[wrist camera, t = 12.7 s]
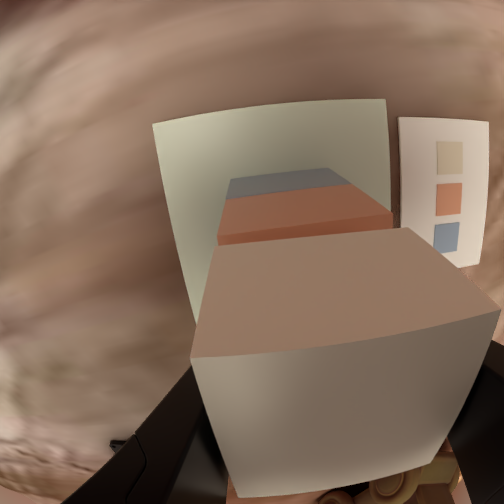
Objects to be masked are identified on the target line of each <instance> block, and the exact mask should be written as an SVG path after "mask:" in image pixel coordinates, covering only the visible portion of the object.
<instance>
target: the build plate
mask: <svg viewBox="0 0 504 504" xmlns="http://www.w3.org/2000/svg"><path fill="white" fill-rule="evenodd" d="M152 126H153V132H154V138H155V143H156V149H157V155H158V160H159V165H160V171H161V176H162V181H163V186H164V191H165V196H166V201H167V206H168V210H169V215H170V220H171V224H172V229H173V233H174V238H175V242H176V246H177V251H178V255H179V259H180V263H181V267H182V272H183V276H184V280H185V284H186V288H187V291H188V295H189V299H190V303H191V307H192V311H193V314H194V318H195V322H196V325H197V321H198V316H199V312H200V307H201V303H202V298H203V294H204V289H205V285H206V281H207V276H208V272H209V268H210V263H211V259H212V255H213V251H214V246H218V240H217V233H218V229H219V225H220V221H221V217H222V213H223V209H224V205H225V201H226V195H227V191H228V187H229V183H230V180H231V179H234V178H241V177H249V176H257V175H264V174H273V173H281V172H290V171H300V170H309V169H320V168H329V169H331V170H333V171H334V172H336V173H337V174H338V175H340V176H341V177H343V178H344V179H346V180H347V181H349V182H350V183H352V184H353V185H354V186H356V187H357V188H359V189H360V190H362V191H363V192H364V193H366V194H367V195H369V196H370V197H371V198H373V199H374V200H376V201H377V202H378V203H380V204H381V205H382V206H384V207H385V208H386V209H388V210H389V211H390V212H391V181H390V152H389V134H388V121H387V109H386V99H341V100H319V101H304V102H291V103H280V104H270V105H261V106H253V107H245V108H238V109H231V110H224V111H217V112H211V113H205V114H200V115H194V116H189V117H183V118H178V119H173V120H169V121H164V122H159V123H155V124H152Z"/></svg>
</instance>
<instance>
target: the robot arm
mask: <svg viewBox="0 0 504 504" xmlns="http://www.w3.org/2000/svg"><path fill="white" fill-rule="evenodd" d="M447 437H448V440H449V442H450V445H451V447H452V450H453V452H454V455H455V458H456V460H457V463H458V466H459V468H460V471H461V474H462V476H463V479H464V482H465V485H466V488H467V491H468V494H469V497H470V500H471V503H472V504H504V346H503V345H501V344H499V343H497V342H495V341H493V340H491V342H490V345H489V347H488V350H487V352H486V355H485V358H484V360H483V362H482V365H481V367H480V370H479V372H478V374H477V377H476V379H475V381H474V383H473V386H472V388H471V390H470V392H469V394H468V396H467V398H466V401H465V403H464V405H463V407H462V409H461V411H460V412H459V414H458V416H457V418H456V420H455V422H454V424H453V426H452V427H451V429H450V431H449V433H448V435H447ZM109 446H110V447H111V448H112V450H113V451H114V452H115V453H116V454H115V455H114V456H113V457H112V458H111V459H110V460H109V461H108V462H107V463H106V464H105V465H104V466H103V467H102V468H101V469H100V470H98V471H97V472H96V473H95V474H94V475H93V476H92V477H91V478H90V479H88V480H87V481H86V482H85V483H84V484H83V485H82V486H80V487H79V488H78V489H77V490H76V491H75V492H74V493H72V494H71V495H70V496H69V497H68V498H67V499H65V500H64V501H63V502H62V503H60V504H226V495H227V486H228V476H229V473H228V470H227V467H226V465H225V462H224V459H223V457H222V454H221V451H220V449H219V446H218V443H217V440H216V438H215V435H214V432H213V429H212V426H211V423H210V420H209V418H208V415H207V412H206V409H205V406H204V403H203V400H202V396H201V393H200V390H199V387H198V384H197V381H196V377H195V374H194V371H193V368H192V365H191V366H190V367H189V369H188V370H187V371H186V372H185V373H184V375H183V376H182V377H181V378H180V379H179V381H178V382H177V383H176V384H175V385H174V387H173V388H172V389H171V390H170V391H169V393H168V394H167V395H166V396H165V397H164V399H163V400H162V401H161V402H160V403H159V404H158V406H157V407H156V408H155V409H154V410H153V412H152V413H151V414H150V415H149V416H148V417H147V419H146V420H145V421H144V422H143V423H142V424H141V426H140V427H139V428H138V429H137V430H136V431H135V435H134V434H133V435H132V436H131V437H130V438H129V439H128V440H127V442H116V441H111V442H110V445H109Z"/></svg>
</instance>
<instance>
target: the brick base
mask: <svg viewBox="0 0 504 504" xmlns="http://www.w3.org/2000/svg"><path fill="white" fill-rule="evenodd" d="M345 184H352V183H350V182H349V181H347V180H346V179H344V178H343V177H341V176H340V175H338V174H337V173H336V172H334V171H333V170H331V169H329V168H320V169H309V170H300V171H290V172H281V173H273V174H264V175H257V176H249V177H241V178H234V179H231V180H230V183H229V187H228V191H227V195H226V199H233V198H240V197H247V196H254V195H261V194H269V193H276V192H284V191H292V190H300V189H309V188H317V187H326V186H335V185H345Z"/></svg>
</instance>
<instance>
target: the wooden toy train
mask: <svg viewBox="0 0 504 504" xmlns="http://www.w3.org/2000/svg"><path fill="white" fill-rule="evenodd" d="M459 472H460V471H459V467H458V463H457V460H456V458H455V455H454V452H444V451H438V452H437V453H436V455H435V456H434V458H433V460H432V461H431V463H429V464H426V465H423V466H420V467H417V468H414V469H411V470H408V471H404V472H401V473H398V474H394V475H390V476H387V477H383V478H379V479H375V480H371V481H369V488H368V489H366V490H365V491H363V492H361V493H360V494H358V495H356V496H355V497H353V498H351V496H350V495H349V494H347V493H345V492H343V491H341V490H335V491H332V492H330V493H328V494H326V495H325V496H324V497H322V499H321V500H320V501H319V503H318V504H455V503H454V500H453V498H452V495H451V493H452V492H453V490H454V489H455V487H456V486H457V483H458V480H459Z"/></svg>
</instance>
